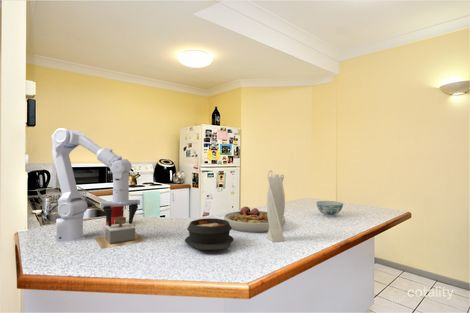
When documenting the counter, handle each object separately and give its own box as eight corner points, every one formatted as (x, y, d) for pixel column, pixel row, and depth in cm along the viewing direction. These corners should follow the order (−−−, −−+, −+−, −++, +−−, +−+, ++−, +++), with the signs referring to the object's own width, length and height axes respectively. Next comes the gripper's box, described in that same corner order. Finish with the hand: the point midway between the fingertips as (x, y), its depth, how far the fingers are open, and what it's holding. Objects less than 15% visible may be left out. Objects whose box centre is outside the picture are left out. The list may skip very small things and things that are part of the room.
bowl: (297, 231, 124) (297, 214, 124) (237, 237, 113) (237, 218, 113) (266, 218, 152) (266, 204, 152) (216, 222, 141) (216, 207, 141)
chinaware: (345, 215, 161) (345, 202, 161) (340, 219, 148) (340, 205, 148) (319, 212, 169) (319, 200, 169) (313, 216, 156) (313, 203, 156)
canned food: (126, 223, 135) (126, 201, 135) (117, 227, 127) (118, 204, 127) (111, 223, 135) (112, 201, 136) (102, 227, 127) (102, 203, 128)
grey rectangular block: (110, 244, 99) (110, 230, 99) (105, 238, 106) (105, 225, 106) (137, 240, 105) (137, 226, 105) (131, 234, 112) (131, 222, 112)
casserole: (183, 236, 112) (183, 216, 112) (226, 234, 117) (226, 214, 117) (186, 257, 88) (186, 231, 88) (241, 253, 92) (241, 228, 93)
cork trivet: (101, 250, 94) (101, 248, 94) (94, 239, 107) (94, 238, 107) (147, 242, 103) (147, 241, 103) (135, 233, 116) (135, 232, 116)
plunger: (112, 240, 100) (112, 220, 100) (108, 236, 106) (109, 217, 106) (131, 237, 104) (132, 218, 105) (127, 233, 110) (127, 215, 110)
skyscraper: (262, 237, 111) (262, 170, 112) (278, 236, 114) (278, 170, 114) (271, 243, 104) (272, 171, 104) (288, 241, 106) (288, 170, 107)
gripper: (102, 192, 98) (101, 229, 98) (142, 189, 107) (142, 224, 106) (99, 190, 104) (98, 225, 104) (137, 188, 112) (137, 220, 112)
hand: (120, 224), depth 105 cm, fingers open, 7 cm apart
